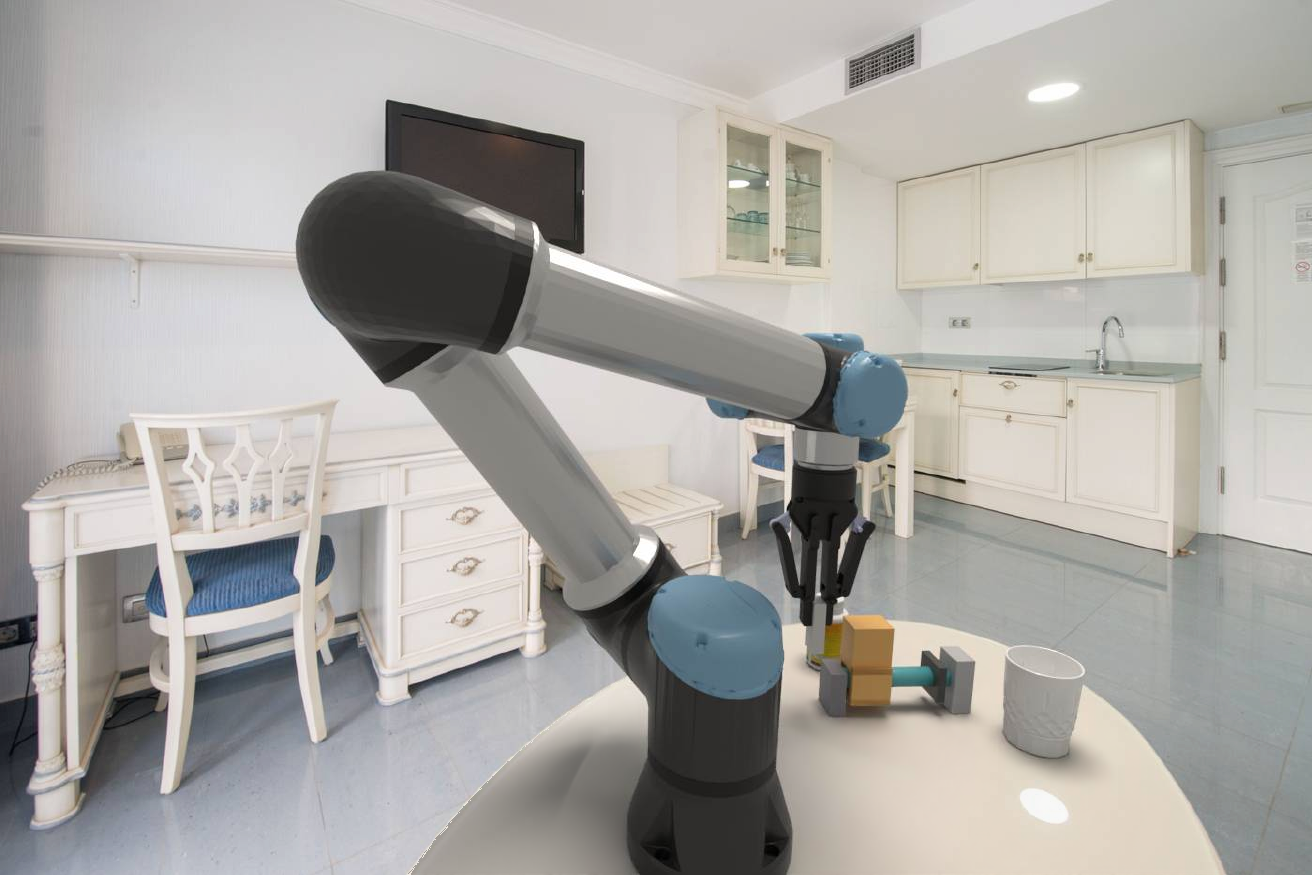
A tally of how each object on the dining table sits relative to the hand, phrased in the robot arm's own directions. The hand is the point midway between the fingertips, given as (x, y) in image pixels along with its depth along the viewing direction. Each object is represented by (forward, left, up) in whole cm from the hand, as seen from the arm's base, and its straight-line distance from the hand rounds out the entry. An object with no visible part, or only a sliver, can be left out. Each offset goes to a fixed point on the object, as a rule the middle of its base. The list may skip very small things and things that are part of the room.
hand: (814, 648), depth 80 cm
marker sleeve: (+7, 0, -6) cm, 9 cm away
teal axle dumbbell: (+11, 0, -8) cm, 13 cm away
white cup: (+24, -8, -8) cm, 27 cm away
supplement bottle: (+6, +11, -8) cm, 15 cm away
